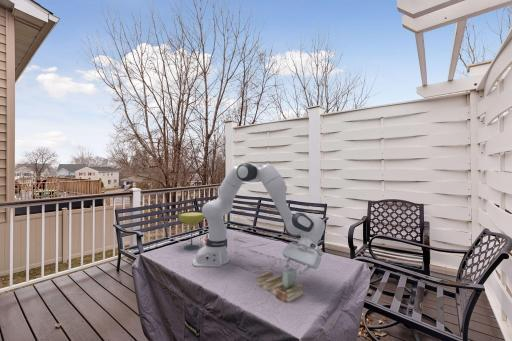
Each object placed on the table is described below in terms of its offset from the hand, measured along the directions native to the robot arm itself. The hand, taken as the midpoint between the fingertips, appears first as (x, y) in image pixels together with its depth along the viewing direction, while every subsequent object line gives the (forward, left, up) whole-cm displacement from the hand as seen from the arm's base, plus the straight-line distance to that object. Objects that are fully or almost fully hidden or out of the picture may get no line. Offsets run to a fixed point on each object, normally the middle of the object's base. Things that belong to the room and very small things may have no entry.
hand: (293, 270), depth 119 cm
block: (-2, -1, -9) cm, 10 cm away
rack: (-6, +4, -11) cm, 13 cm away
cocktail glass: (-49, +76, -11) cm, 91 cm away
